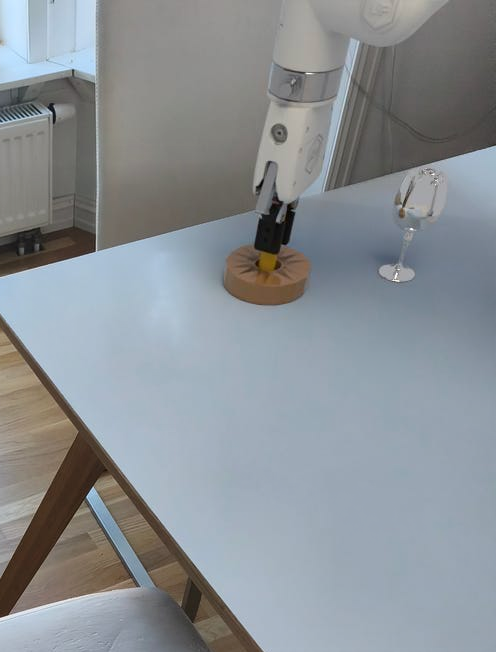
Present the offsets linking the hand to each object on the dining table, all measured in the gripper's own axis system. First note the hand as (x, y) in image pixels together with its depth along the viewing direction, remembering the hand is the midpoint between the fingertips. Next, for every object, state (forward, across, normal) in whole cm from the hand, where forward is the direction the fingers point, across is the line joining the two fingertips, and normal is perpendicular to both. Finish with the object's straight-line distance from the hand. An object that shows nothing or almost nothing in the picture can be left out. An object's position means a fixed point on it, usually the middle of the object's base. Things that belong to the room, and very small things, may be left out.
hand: (271, 245), depth 109 cm
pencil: (+5, 0, 0) cm, 5 cm away
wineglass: (+5, +11, -13) cm, 18 cm away
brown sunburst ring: (+5, 0, 0) cm, 5 cm away
